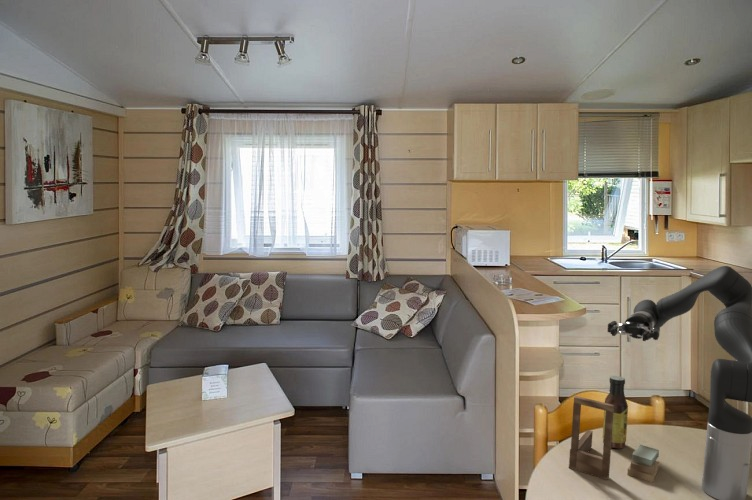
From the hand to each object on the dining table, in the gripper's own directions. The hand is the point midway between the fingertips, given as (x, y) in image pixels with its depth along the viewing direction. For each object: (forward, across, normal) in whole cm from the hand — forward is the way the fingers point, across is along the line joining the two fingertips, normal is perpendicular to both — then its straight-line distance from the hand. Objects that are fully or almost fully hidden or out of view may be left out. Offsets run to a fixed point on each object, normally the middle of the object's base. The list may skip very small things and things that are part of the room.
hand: (628, 335), depth 164 cm
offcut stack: (+22, +10, +30) cm, 39 cm away
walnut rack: (+25, -1, +30) cm, 39 cm away
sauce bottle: (+11, 0, +30) cm, 32 cm away
